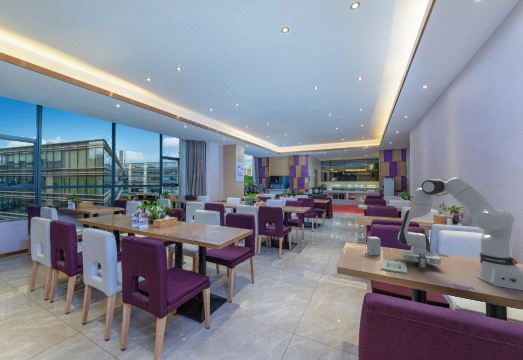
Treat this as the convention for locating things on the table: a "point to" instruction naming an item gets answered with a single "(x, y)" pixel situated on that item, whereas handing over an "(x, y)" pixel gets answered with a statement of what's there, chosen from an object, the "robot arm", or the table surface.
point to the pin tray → (394, 266)
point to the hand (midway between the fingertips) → (422, 261)
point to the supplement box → (374, 245)
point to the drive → (422, 262)
